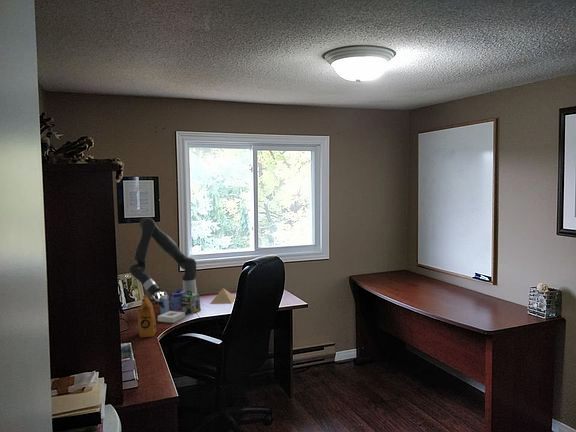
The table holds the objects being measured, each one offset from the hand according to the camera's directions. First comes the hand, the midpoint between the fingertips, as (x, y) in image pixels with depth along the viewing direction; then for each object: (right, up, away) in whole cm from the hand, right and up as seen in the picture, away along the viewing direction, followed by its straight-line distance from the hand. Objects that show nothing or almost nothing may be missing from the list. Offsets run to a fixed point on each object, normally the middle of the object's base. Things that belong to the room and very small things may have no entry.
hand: (166, 305), depth 296 cm
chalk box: (+15, -5, +6) cm, 17 cm away
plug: (-1, -6, +1) cm, 6 cm away
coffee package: (-1, -9, -38) cm, 39 cm away
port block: (+6, -7, -11) cm, 14 cm away
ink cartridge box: (+6, -5, +11) cm, 14 cm away
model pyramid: (+33, -3, +31) cm, 46 cm away
